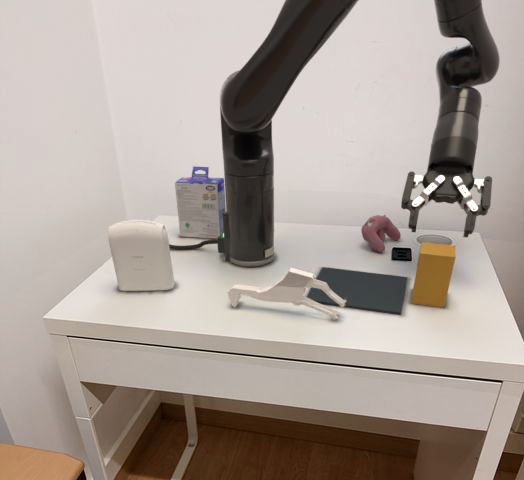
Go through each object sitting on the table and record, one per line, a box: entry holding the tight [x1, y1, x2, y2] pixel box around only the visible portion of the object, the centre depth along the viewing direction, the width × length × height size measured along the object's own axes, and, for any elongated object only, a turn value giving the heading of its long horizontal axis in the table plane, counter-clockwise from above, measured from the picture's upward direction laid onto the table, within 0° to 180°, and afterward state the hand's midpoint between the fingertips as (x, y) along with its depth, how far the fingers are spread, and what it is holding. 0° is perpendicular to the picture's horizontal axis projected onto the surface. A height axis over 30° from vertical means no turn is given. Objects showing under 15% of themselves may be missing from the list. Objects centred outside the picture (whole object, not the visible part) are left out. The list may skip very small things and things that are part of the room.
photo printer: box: [107, 219, 176, 292], centre depth 84 cm, size 10×4×12 cm, turn 90°
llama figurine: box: [227, 267, 347, 321], centre depth 78 cm, size 2×11×18 cm
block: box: [410, 241, 457, 308], centre depth 80 cm, size 5×5×9 cm
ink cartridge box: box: [174, 166, 226, 240], centre depth 106 cm, size 10×6×14 cm, turn 78°
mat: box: [306, 266, 408, 316], centre depth 86 cm, size 16×14×1 cm
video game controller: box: [360, 214, 402, 253], centre depth 102 cm, size 10×5×7 cm, turn 144°
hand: (439, 232), depth 82 cm, fingers open, 8 cm apart
